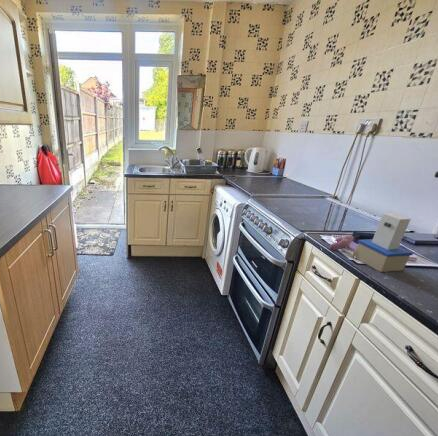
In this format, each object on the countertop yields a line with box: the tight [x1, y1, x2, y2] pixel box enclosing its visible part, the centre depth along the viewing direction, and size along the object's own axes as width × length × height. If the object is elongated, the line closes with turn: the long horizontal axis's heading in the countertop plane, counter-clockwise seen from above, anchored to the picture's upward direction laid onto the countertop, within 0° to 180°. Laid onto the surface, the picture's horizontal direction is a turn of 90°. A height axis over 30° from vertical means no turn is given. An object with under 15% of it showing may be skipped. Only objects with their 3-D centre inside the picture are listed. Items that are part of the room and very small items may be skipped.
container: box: [353, 238, 414, 273], centre depth 86 cm, size 11×10×7 cm
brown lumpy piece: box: [329, 233, 356, 251], centre depth 97 cm, size 10×5×7 cm, turn 131°
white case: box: [372, 212, 411, 250], centre depth 83 cm, size 6×4×11 cm
